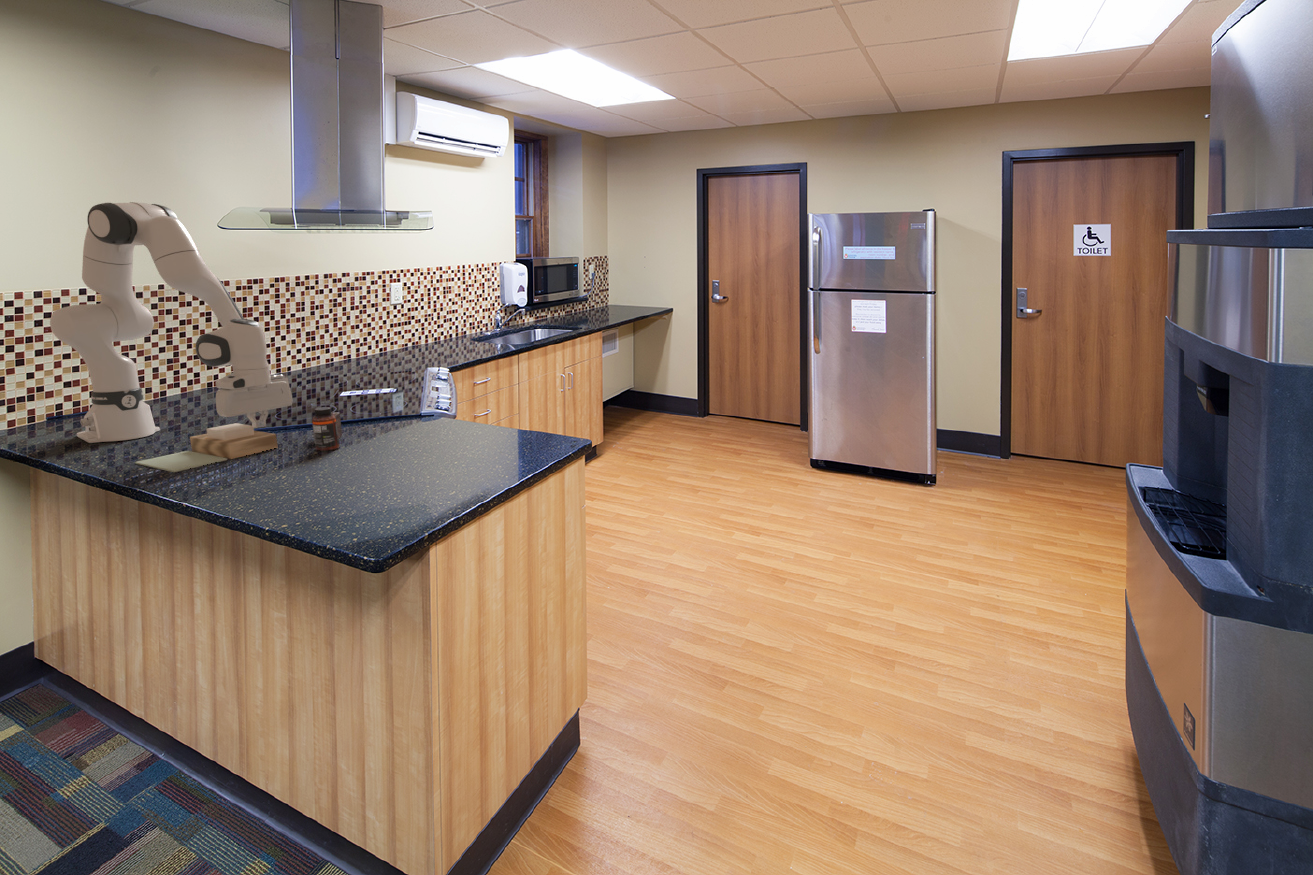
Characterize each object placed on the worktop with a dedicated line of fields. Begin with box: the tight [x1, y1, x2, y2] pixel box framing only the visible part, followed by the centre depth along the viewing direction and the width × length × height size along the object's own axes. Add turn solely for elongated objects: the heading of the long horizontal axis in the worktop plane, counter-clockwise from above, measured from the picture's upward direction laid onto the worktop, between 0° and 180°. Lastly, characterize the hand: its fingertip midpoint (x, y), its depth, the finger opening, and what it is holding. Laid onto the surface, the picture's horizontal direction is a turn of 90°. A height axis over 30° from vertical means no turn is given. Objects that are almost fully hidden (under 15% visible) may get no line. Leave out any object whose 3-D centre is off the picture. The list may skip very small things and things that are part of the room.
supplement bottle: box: [311, 406, 340, 452], centre depth 194 cm, size 6×6×11 cm
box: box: [313, 412, 343, 440], centre depth 206 cm, size 6×6×7 cm
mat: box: [134, 450, 228, 473], centre depth 184 cm, size 18×13×1 cm
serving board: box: [189, 430, 279, 460], centre depth 195 cm, size 18×13×4 cm
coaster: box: [206, 422, 255, 440], centre depth 194 cm, size 8×8×2 cm
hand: (259, 427), depth 201 cm, fingers closed
